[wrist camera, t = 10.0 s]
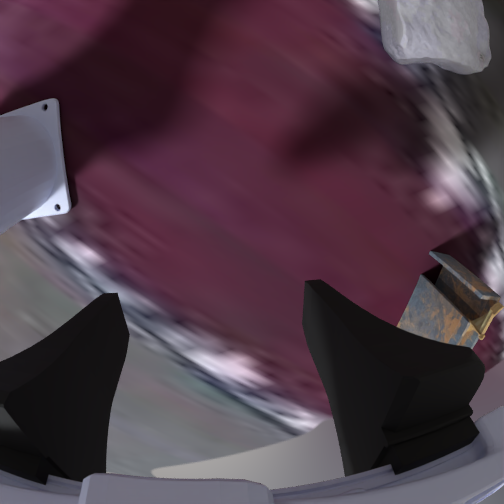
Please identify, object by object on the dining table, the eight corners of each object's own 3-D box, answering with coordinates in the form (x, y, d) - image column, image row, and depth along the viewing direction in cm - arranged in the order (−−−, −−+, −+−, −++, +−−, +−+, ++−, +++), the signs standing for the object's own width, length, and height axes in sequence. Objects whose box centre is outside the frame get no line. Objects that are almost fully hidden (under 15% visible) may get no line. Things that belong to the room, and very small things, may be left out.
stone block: (442, -33, 14) (353, -72, 12) (482, -40, 10) (393, -94, 8) (455, 81, 20) (369, 61, 17) (499, 87, 16) (419, 58, 13)
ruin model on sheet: (423, 247, 24) (496, 311, 15) (447, 253, 24) (517, 312, 16) (375, 352, 28) (417, 427, 19) (399, 352, 29) (442, 422, 20)
